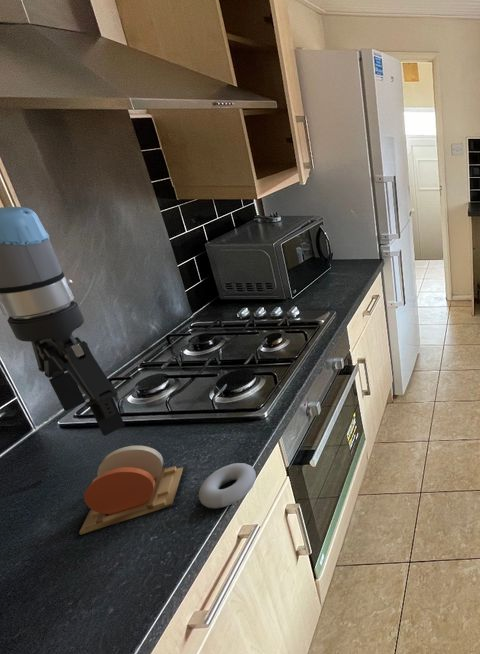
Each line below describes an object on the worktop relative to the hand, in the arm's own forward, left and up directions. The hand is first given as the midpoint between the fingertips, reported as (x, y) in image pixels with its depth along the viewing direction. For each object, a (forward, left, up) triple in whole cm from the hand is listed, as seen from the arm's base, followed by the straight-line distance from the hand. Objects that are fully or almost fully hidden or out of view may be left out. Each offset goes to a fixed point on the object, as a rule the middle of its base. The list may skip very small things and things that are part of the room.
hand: (93, 417), depth 72 cm
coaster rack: (-2, +5, -24) cm, 25 cm away
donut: (+15, -1, -24) cm, 29 cm away
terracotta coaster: (-2, +2, -24) cm, 24 cm away
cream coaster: (-2, +8, -24) cm, 25 cm away
